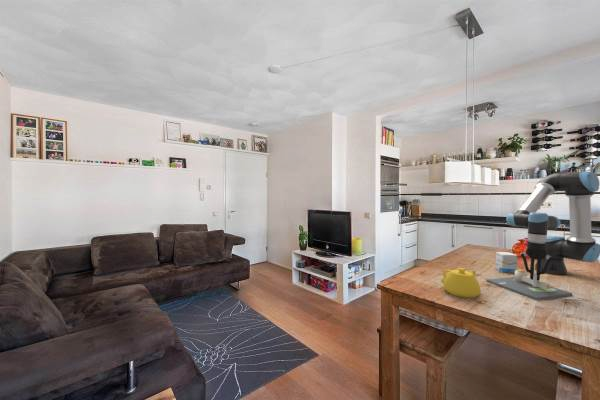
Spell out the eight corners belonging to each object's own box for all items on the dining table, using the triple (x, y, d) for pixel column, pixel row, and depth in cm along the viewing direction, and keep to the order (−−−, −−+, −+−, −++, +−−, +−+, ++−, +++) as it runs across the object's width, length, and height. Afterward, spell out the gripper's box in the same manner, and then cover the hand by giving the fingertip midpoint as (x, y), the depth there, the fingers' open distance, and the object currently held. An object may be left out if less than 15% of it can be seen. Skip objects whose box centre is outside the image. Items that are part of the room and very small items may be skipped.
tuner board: (518, 278, 155) (518, 275, 155) (572, 295, 130) (572, 292, 130) (486, 281, 149) (486, 278, 149) (536, 300, 124) (536, 297, 124)
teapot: (468, 302, 123) (469, 275, 122) (432, 288, 139) (432, 265, 139) (490, 293, 132) (491, 269, 132) (454, 282, 149) (455, 260, 148)
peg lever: (512, 279, 148) (512, 269, 148) (520, 278, 149) (520, 268, 149) (547, 292, 129) (548, 281, 129) (556, 291, 130) (556, 280, 130)
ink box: (517, 273, 164) (517, 255, 164) (502, 272, 166) (502, 254, 165) (509, 269, 173) (509, 252, 172) (494, 268, 174) (495, 251, 174)
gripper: (521, 241, 135) (519, 285, 136) (555, 244, 128) (552, 291, 129) (520, 239, 141) (517, 281, 142) (552, 242, 134) (549, 286, 135)
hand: (534, 285), depth 136 cm, fingers closed
